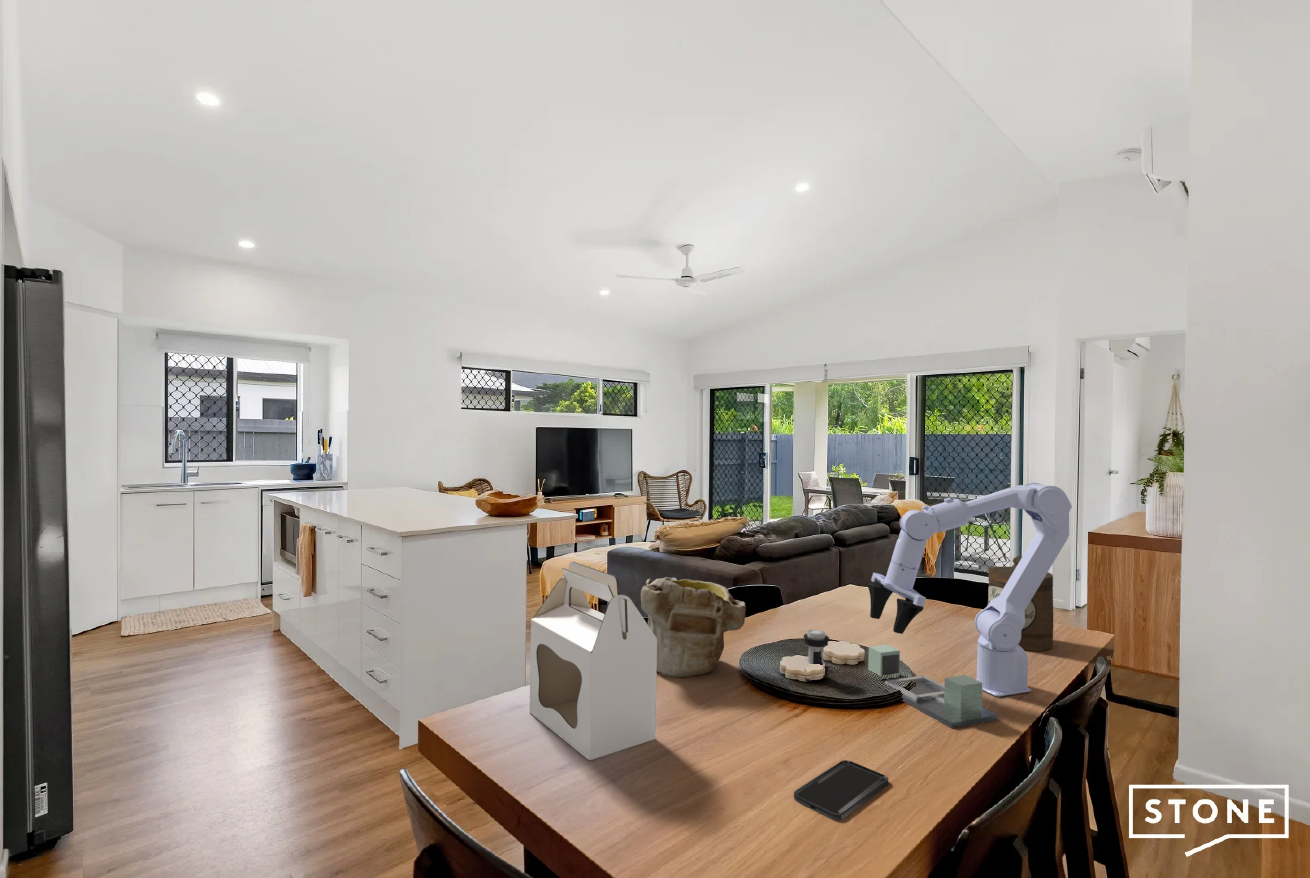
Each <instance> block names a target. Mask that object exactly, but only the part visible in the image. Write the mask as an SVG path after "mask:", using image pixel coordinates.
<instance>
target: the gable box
mask: <svg viewBox="0 0 1310 878" xmlns="http://www.w3.org/2000/svg"><path fill="white" fill-rule="evenodd" d="M561 570H562V572H563V575H561V578H559V580H557V582H556V583H555V585H554V587H553V588H552V589H551V591H550V592H549V594H548V595H547V597H546V598H545V600H544V601H543V603H542V605H540V607H539V608H538V610H537V611H536V613H535V614H534V616H533V617H532V618H531V619H530V649H529V650H530V651H529V652H530V653H529V654H530V656H529V657H530V660H529V661H530V664H529V713H530V714H531V715H532V716H534V718H536V719H538V720H539V721H540V722H541V723H542V724H544V726H546V727H547V728H548V729H550V730H551V731H552V732H553V733H554V734H556V735H557V736H558V737H560V738H561V739H562V740H563V741H564V742H566V743H567V744H568V745H570V746H571V747H572V748H573V749H574V750H575V751H577V752H578V753H579V754H580V755H582V756H583V757H585V759H587V760H588V761H594V760H596V759H600V758H602V757H605V756H608V755H609V756H610V755H612V754H615V753H618V752H620V751H624V750H627V749H630V748H633V747H636V746H639V745H641V744H645V743H647V742H651V741H654V740H656V727H657V726H656V723H657V722H656V721H657V712H656V711H657V674H658V673H657V672H658V671H657V637H656V636H655V635H654V634H653V632H652V631H651V629H650V628H649V626H648V622H646V620H645V619H644V616H642V614H641V613H640V611H639V610H638V608H637V607H636V606H635V603H634V602H633V601H632V599H631V598H630V597H629V596H627V595H624V594H621V593H620V590H621V589H620V581H619V578H618V576H617V575H613V574H611V573H608V572H606V571H602V570H599V569H597V568H593V567H591V566H588V565H584V564H582V563H579V562H576V561H569V563H568V569H566V568H564V567H561ZM585 593H586V594H588V595H591V596H593V597H596V598H599V599H601V600H603V601H606V602H608V604H607V607H606V610H605V613H603V612H600V611H598V610H595V609H594V608H591V607H592V606H591V605H590V603H589V601H588V598H587V596H586V594H585Z"/></svg>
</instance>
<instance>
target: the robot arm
mask: <svg viewBox="0 0 1310 878" xmlns="http://www.w3.org/2000/svg"><path fill="white" fill-rule="evenodd" d="M1009 508H1012V509H1018V510H1019V509H1020V510H1022V511H1024V512H1025V513H1026V514H1027V515H1028V516H1029V517H1030V518H1031V521H1032V524H1033V525H1034V528H1035V530H1036V533H1035V535H1034V536H1033V538H1032V540H1031V541H1030V543H1029V544H1028V546H1027V548H1026V550H1025V551H1024V553H1023V554H1022V558H1021V560H1020V562H1019V563H1018V565H1017V567H1016V568H1015V570H1014V572H1013V573H1012V575H1011V577H1010V578H1009V580H1008V582H1007V584H1006V585H1005V587H1004V589H1003V590H1002V592H1001V594H1000V595H999V596H998V597H997V598H995V599H993V600H992V601H990V603H989V605H988V604H987V606H986V607H985V608H984V609H981V610H980V611H978V613H977V614H976V615H975V617H974V626H975V629H976V631H977V632H978V633H979V637H978V639H977V651H976V652H977V654H976V655H977V656H976V657H977V659H976V678H975V679H976V680H978V681H980V682H982V691H983V692H985V693H989V694H991V695H992V696H993V697H1006V696H1009V695H1010V696H1012V695H1018V694H1023V693H1029V692H1031V691H1032V689H1031V687H1028V681H1029V679H1028V678H1029V677H1028V676H1029V673H1028V672H1029V658H1028V654H1027V653H1026V650H1023V648H1022V647H1020V646H1019V645H1018V644H1019V642H1020V640H1021V631H1022V628H1023V626H1024V624H1025V609H1026V608H1027V606H1028V604H1029V603H1030V601H1031V599H1032V598H1033V596H1034V594H1035V593H1036V591H1037V589H1038V588H1039V586H1040V584H1041V583H1042V581H1043V579H1044V578H1045V576H1046V574H1047V573H1049V571H1050V569H1051V568H1052V565H1053V564H1054V562H1055V560H1056V559H1057V557H1058V556H1059V554H1060V553H1061V551H1062V549H1063V547H1064V546H1065V545H1066V542H1067V541H1068V539H1069V536H1070V512H1071V510H1072V508H1073V506H1072V503H1071V501H1070V500H1069V498H1068V496H1067V494H1066V492H1065V491H1064V490H1063V489H1062V488H1060V487H1058V486H1055V485H1045V484H1042V483H1039V482H1029V483H1026V484H1020V485H1014V486H1011V487H1008V488H1007V487H1006V488H1005V489H1001V490H999V491H995V492H992V493H990V494H987V495H984V496H980V497H977V498H975V499H971V500H969V501H965V502H964V501H962V500H961V499H959V498H953V499H952V497H946V498H944V499H943V502H941V503H937V504H934V505H930V506H928V505H926V504H925V505H923V506H921V510H918V509H911V510H908V511H906V512H905V513H904V514H903V515H902V517H900V519H899V527H900V528H901V530H900V532H899V534H898V535H899V536H898V539H897V540H896V543H895V545H894V549H893V553H892V556H891V560H890V562H889V565H888V569H887V572H886V576H885V575H883V574H881V573H877V572H873V573H872V575H871V578H870V581H871V582H873V583H871V582H870V583H868V585H867V587H868V591H869V597H870V612H869V617H870V618H871V619H875V620H876V619H877V620H880V619H881V617H882V615H883V611H884V609H885V608H886V604H887V602H888V600H889V599H890V597H891V595H892V594H893V593H895V594H896V595H898V596H900V597H902V598H904V599H902V598H899V597H898V598H896V616H895V619H894V624H893V630H892V631H893V632H894V633H895V634H900V635H903V634H904V633H905V631H906V630H907V628H908V626H909V625H910V623H911V622H912V620H913V619H915V618H916V616H917V615H919V614H920V613H922V611H923V610H924V606H925V602H926V599H927V597H925V596H923V595H922V594H920V593H919V592H918V591H917V590H915V589H914V585H915V582H916V578H917V576H918V572H919V569H920V566H921V562H922V559H923V556H924V553H925V548H926V544H927V541H928V540H929V539H931V538H932V537H933V535H934V534H939V533H942V532H946V531H949V530H953V529H956V528H959V527H964V526H967V525H968V523H969V522H970V520H971V519H972V518H973V517H977V516H982V515H985V514H989V513H992V512H997V511H1001V510H1005V509H1009Z"/></svg>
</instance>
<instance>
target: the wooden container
mask: <svg viewBox="0 0 1310 878" xmlns="http://www.w3.org/2000/svg"><path fill="white" fill-rule="evenodd" d="M1022 557H1023V555H1022V556H1021V555H1018V556H1016V557H1013V559H1012V563H1014V564H1013V565H1011V566H991V567H989V568H988V578H987V579H988V593H987V594H988V595H987V596H988V598H987V606H988V605H989V603H990V601H992V600H993V599H995V598H997V597H998V596H999V595H1000V594H1001V592H1002V590H1003V589H1004V587H1005V585H1006V584H1007V582H1008V580H1009V578H1010V577H1011V575H1012V573H1013V572H1014V570H1015V568H1016V567H1017V565H1018V563H1019V562H1020V560H1021V558H1022ZM1018 645H1019V646H1020V647H1022V648H1023V650H1024V651H1030V652H1031V651H1033V652H1041V651H1048V650H1051V649H1052V648H1053V646H1054V574H1052V573H1051V572H1048V573H1047V574H1046V576H1045V578H1044V579H1043V581H1042V583H1041V584H1040V586H1039V588H1038V589H1037V591H1036V593H1035V594H1034V596H1033V598H1032V599H1031V601H1030V603H1029V604H1028V606H1027V608H1026V609H1025V624H1024V626H1023V628H1022V631H1021V640H1020V642H1019V644H1018Z"/></svg>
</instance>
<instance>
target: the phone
mask: <svg viewBox="0 0 1310 878" xmlns="http://www.w3.org/2000/svg"><path fill="white" fill-rule="evenodd" d="M888 786H889V777H888V776H887V775H885V774H883V773H880V772H877V771H876V770H873V769H872V768H868V767H867V766H863V765H861V764H858V763H856V762H854V761H852V760H848V759H844V760H840V761H839V762H838V763H836V764H835V765H833V766H831V767H830V768H829V769H827V770H825V771H823V772H822V773H820V774H819V775H817V776H816V777H814V778H813V779H811V780H809V781H808V782H806V783H804V784H803V785H801V786H800V787H799V788H797V789H795V790H794V792H793V799H794V801H795V802H797V803H798V804H800V805H802V806H805V807H807V808H809V809H811V810H812V811H815V812H817V813H819V814H821V815H823V816H825V817H827V818H829V819H831V820H834V821H842V820H844V819H846V818H847V817H849V816H850V815H851V814H852V813H854V812H855V811H857V810H858V809H859V808H860V807H861V806H863V805H865V803H867V802H868V801H870V800H871V799H872V798H873V797H874V796H876V795H877V794H879V793H880V792H881V791H883V790H884V789H885V788H886V787H888Z"/></svg>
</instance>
